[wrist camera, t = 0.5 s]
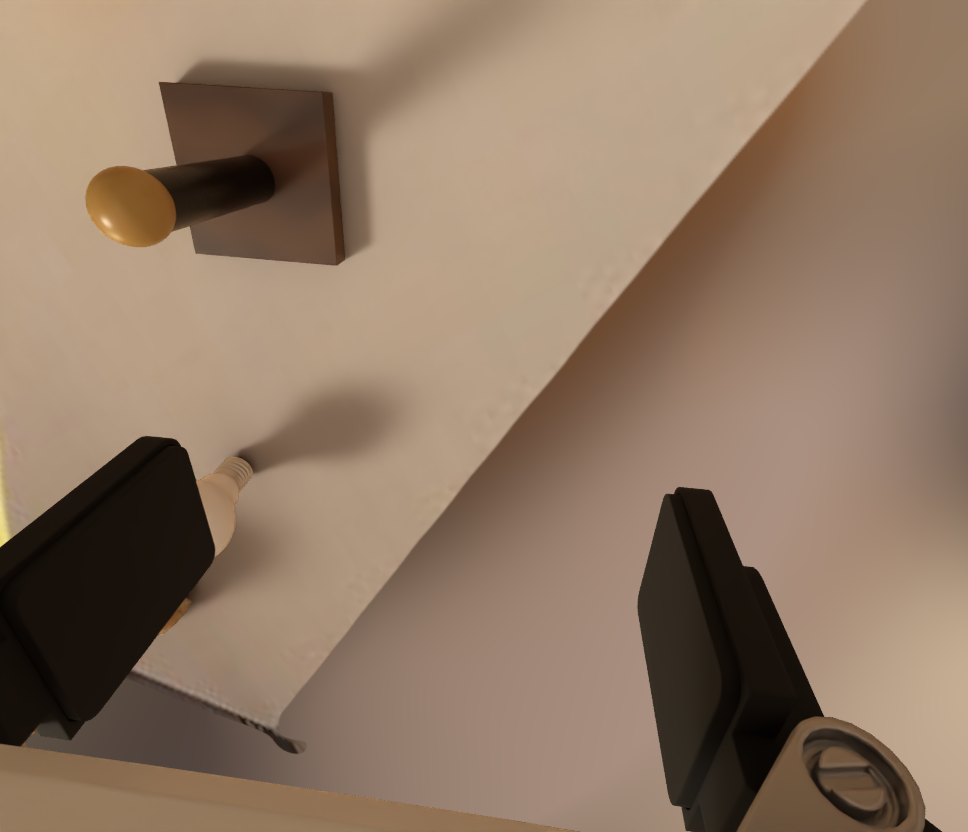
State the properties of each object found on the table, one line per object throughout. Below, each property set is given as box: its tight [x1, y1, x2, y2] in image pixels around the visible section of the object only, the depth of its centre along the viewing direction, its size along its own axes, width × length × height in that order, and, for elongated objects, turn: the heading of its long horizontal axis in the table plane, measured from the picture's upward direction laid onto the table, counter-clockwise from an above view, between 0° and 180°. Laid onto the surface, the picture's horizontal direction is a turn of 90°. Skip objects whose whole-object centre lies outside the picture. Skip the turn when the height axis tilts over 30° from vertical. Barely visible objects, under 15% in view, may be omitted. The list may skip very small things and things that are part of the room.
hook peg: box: [85, 155, 275, 247], centre depth 28 cm, size 3×3×13 cm
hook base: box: [159, 82, 345, 265], centre depth 34 cm, size 10×10×2 cm
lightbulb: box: [196, 457, 253, 557], centre depth 43 cm, size 6×6×11 cm
